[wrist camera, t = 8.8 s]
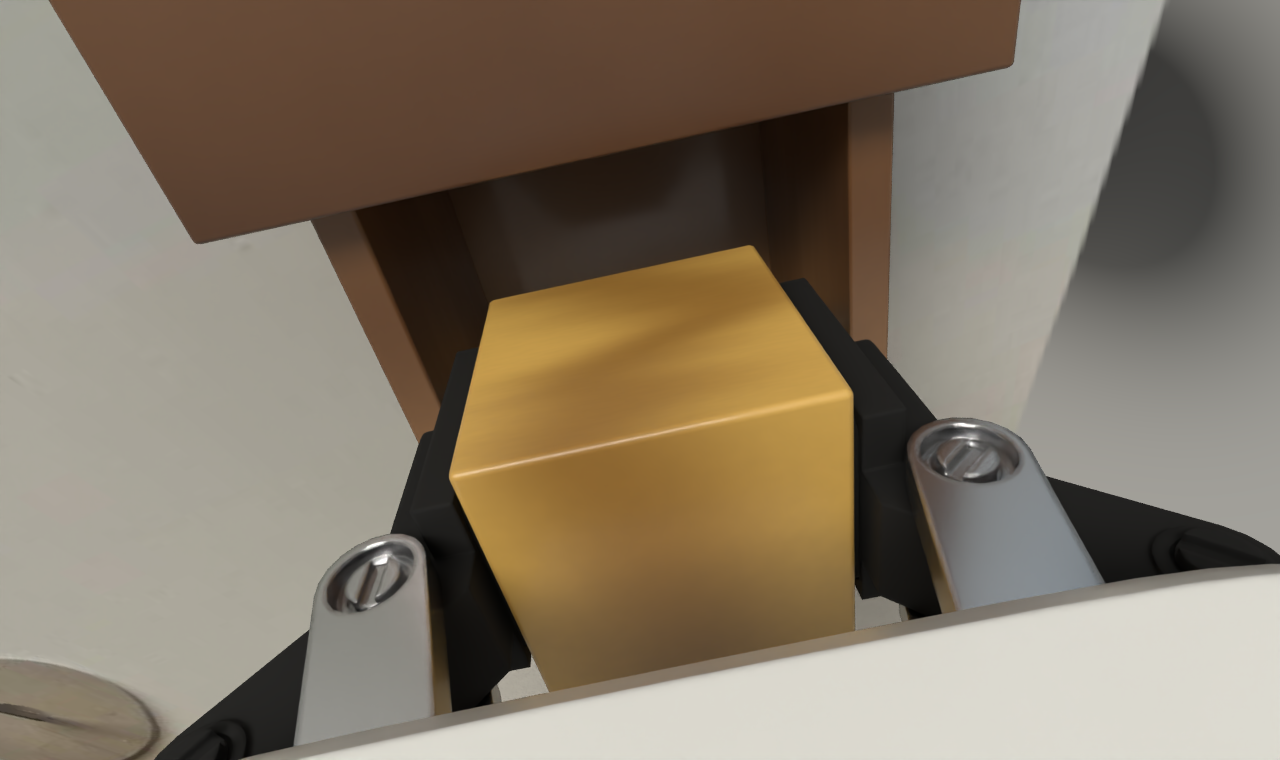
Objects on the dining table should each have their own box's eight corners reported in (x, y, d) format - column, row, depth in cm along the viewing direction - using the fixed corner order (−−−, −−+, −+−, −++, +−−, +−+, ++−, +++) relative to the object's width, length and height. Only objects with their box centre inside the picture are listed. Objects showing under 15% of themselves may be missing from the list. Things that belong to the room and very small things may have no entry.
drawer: (818, 451, 25) (907, 625, 18) (528, 511, 25) (513, 703, 18) (791, -125, 15) (963, -203, 8) (320, -18, 15) (132, -13, 9)
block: (753, 241, 10) (856, 391, 7) (772, 449, 13) (857, 644, 9) (488, 299, 10) (443, 477, 7) (556, 494, 13) (552, 706, 9)
